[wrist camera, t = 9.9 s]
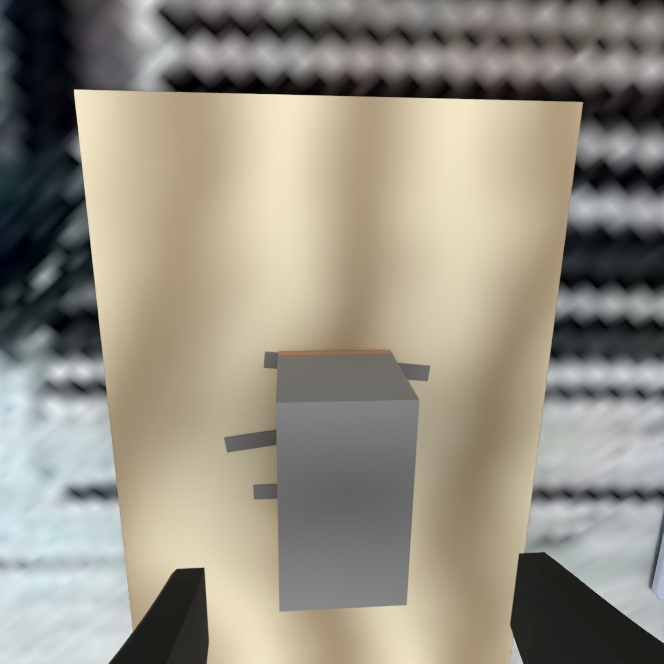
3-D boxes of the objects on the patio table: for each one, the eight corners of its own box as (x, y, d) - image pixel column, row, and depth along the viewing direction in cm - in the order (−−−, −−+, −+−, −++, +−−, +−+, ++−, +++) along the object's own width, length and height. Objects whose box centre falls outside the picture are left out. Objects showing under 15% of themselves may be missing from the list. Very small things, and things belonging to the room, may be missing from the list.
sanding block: (390, 350, 20) (419, 399, 15) (382, 518, 22) (406, 605, 17) (278, 351, 19) (275, 403, 15) (280, 523, 21) (279, 611, 17)
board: (560, 107, 19) (583, 102, 18) (491, 684, 27) (503, 715, 25) (90, 96, 18) (73, 89, 17) (152, 706, 25) (144, 740, 24)
